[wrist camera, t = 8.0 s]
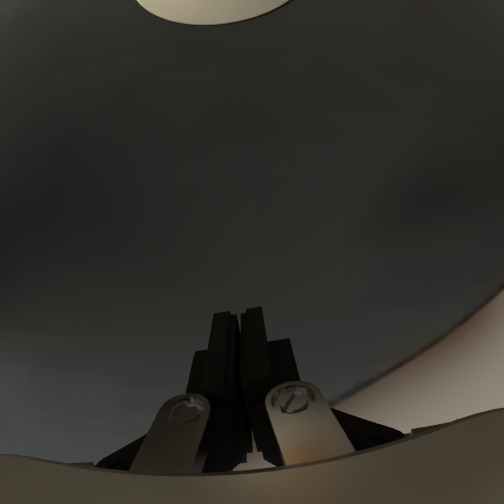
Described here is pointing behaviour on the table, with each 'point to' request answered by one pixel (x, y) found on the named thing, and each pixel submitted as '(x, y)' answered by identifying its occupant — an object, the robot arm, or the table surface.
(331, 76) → the table surface
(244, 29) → the table surface
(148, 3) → the disc
